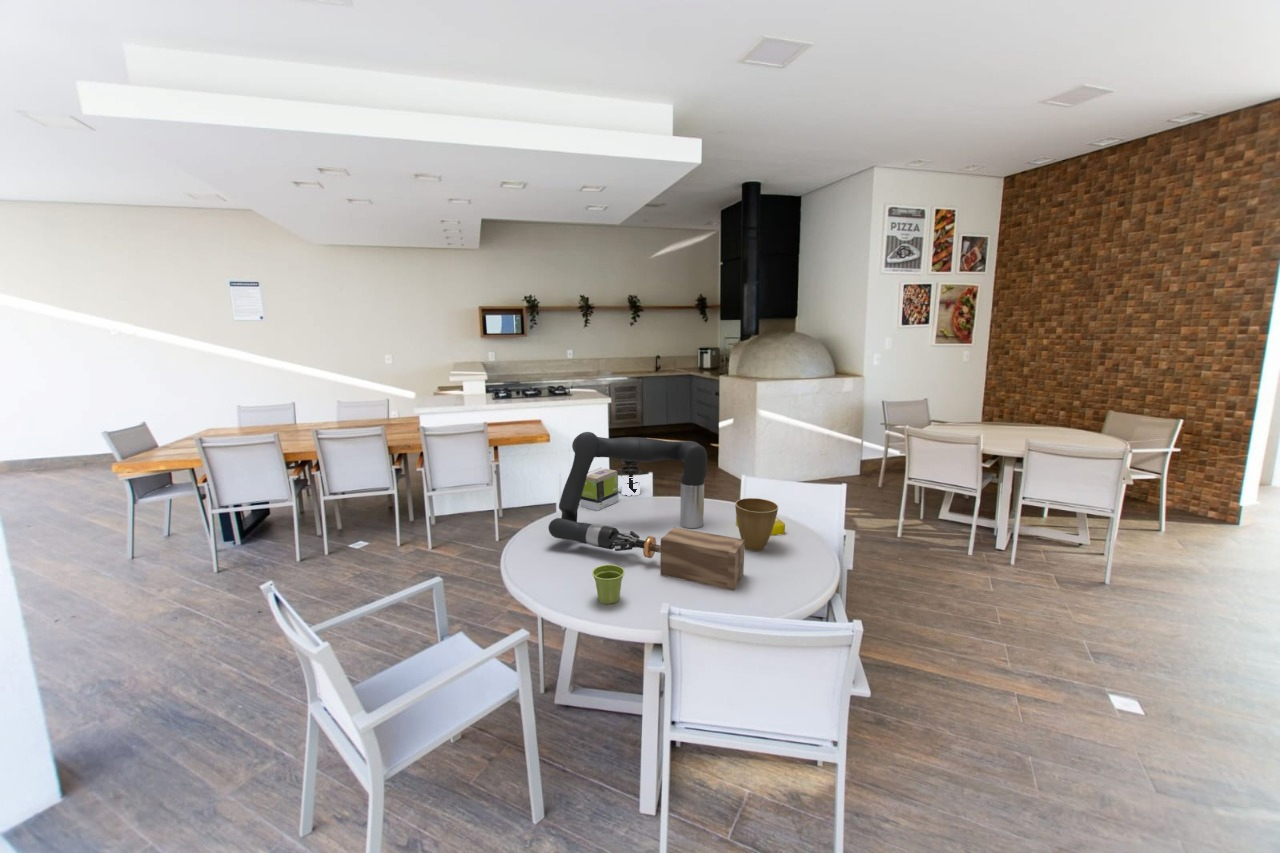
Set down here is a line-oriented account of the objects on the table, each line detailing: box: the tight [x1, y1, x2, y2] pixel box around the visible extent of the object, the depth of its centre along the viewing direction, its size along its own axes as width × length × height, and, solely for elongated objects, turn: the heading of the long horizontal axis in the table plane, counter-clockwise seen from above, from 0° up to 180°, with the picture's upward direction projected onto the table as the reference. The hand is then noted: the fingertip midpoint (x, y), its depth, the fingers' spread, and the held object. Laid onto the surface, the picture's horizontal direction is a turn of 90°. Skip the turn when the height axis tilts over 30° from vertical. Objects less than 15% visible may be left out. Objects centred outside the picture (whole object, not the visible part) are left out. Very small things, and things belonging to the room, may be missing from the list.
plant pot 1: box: [591, 564, 625, 605], centre depth 157 cm, size 9×9×9 cm
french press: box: [616, 460, 641, 493], centre depth 252 cm, size 12×9×23 cm
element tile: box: [735, 515, 786, 536], centre depth 211 cm, size 15×15×5 cm
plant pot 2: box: [734, 497, 779, 552], centre depth 193 cm, size 15×15×16 cm
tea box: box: [580, 467, 619, 512], centre depth 238 cm, size 15×10×15 cm
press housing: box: [659, 527, 745, 591], centre depth 171 cm, size 11×24×12 cm, turn 65°
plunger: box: [642, 535, 661, 559], centre depth 175 cm, size 7×21×7 cm, turn 65°
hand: (647, 545), depth 179 cm, fingers closed
